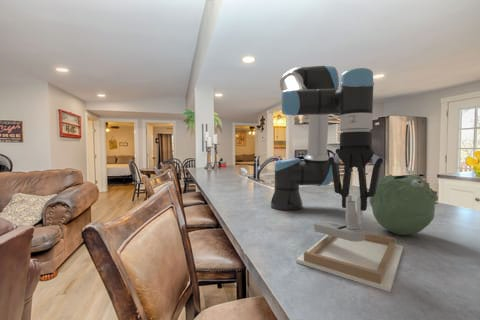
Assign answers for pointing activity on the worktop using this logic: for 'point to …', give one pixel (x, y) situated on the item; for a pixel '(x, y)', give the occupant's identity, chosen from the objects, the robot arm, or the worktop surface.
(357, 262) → the wooden framed canvas
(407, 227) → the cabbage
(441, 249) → the worktop surface
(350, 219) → the electronic device
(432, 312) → the worktop surface
